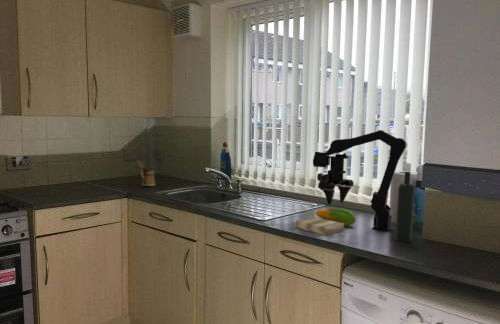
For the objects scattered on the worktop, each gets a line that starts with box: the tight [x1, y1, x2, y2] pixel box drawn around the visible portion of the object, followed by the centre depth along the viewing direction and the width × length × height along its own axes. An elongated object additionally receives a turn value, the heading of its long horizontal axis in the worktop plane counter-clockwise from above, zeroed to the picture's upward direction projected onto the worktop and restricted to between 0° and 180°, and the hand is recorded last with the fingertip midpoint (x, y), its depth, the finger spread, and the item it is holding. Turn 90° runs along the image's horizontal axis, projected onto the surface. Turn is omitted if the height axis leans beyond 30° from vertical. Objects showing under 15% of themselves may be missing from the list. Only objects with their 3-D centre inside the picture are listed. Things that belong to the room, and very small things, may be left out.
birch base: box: [294, 216, 345, 236], centre depth 184 cm, size 16×12×3 cm
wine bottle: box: [395, 162, 415, 243], centre depth 169 cm, size 6×6×30 cm
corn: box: [315, 206, 356, 228], centre depth 194 cm, size 7×8×20 cm
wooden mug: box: [136, 159, 157, 187], centre depth 283 cm, size 9×14×18 cm, turn 141°
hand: (335, 203), depth 194 cm, fingers open, 9 cm apart
